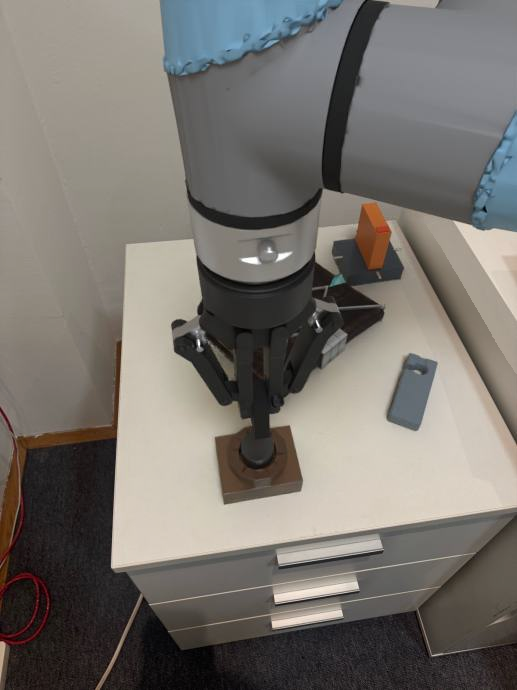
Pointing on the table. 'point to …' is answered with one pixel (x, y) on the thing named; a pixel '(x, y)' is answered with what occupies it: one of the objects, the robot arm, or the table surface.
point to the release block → (258, 482)
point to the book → (356, 318)
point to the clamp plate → (357, 269)
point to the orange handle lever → (372, 235)
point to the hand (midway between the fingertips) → (259, 426)
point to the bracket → (412, 392)
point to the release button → (257, 451)
